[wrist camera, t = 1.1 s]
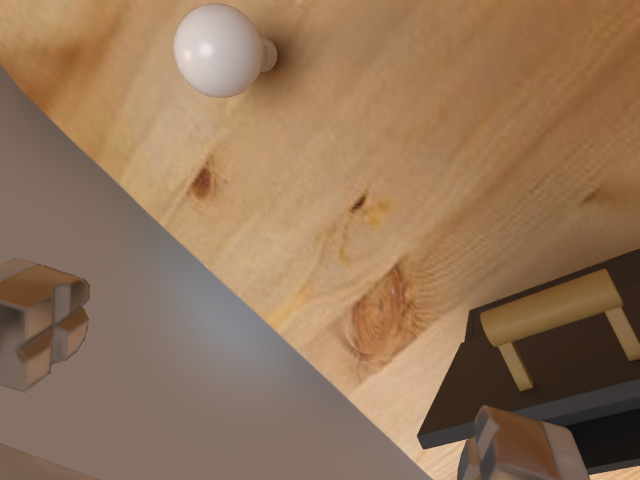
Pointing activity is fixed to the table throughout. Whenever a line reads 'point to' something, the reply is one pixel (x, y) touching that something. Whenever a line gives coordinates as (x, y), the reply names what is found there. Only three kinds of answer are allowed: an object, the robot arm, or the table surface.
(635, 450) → the chest
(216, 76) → the lightbulb
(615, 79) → the table surface
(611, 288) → the lid
